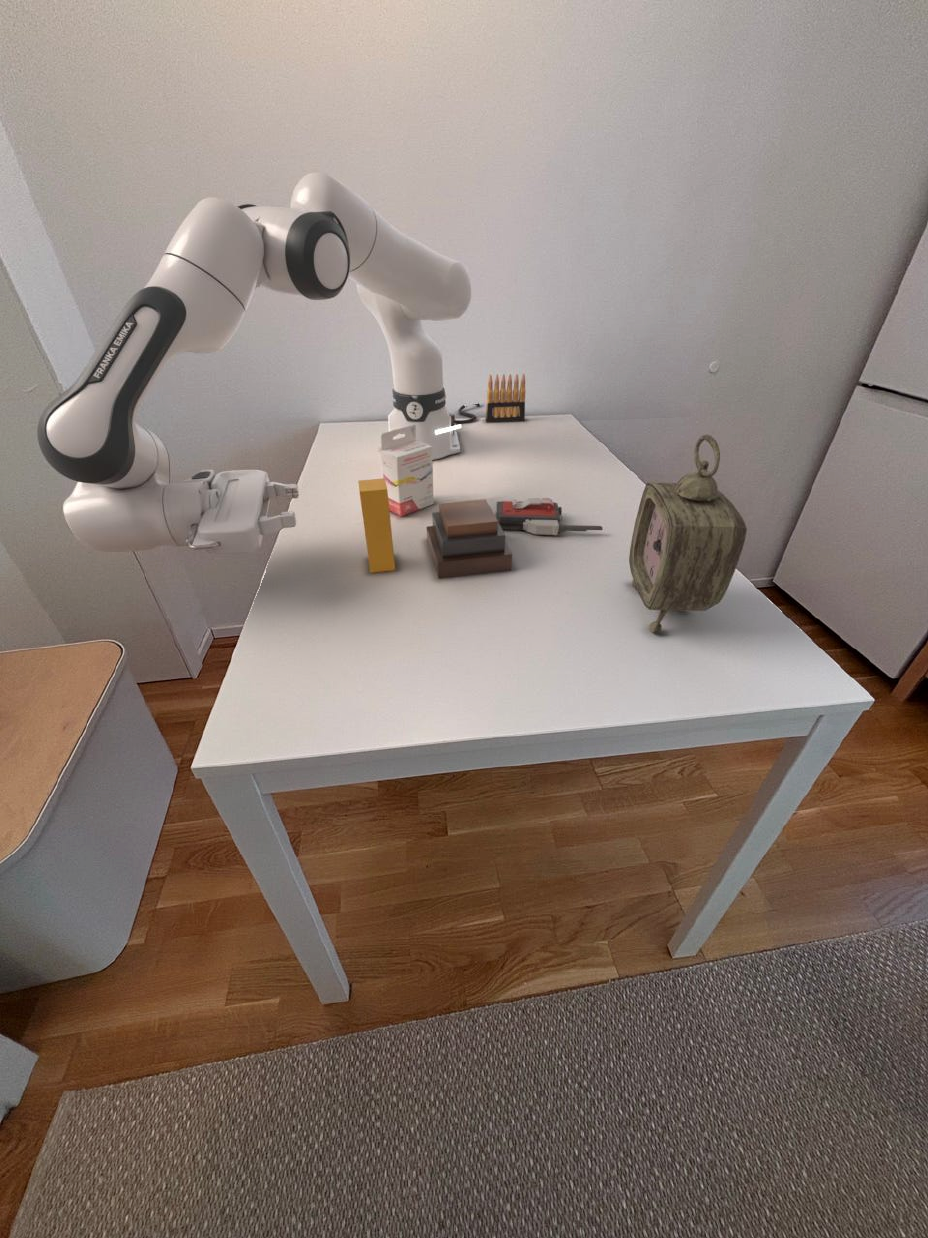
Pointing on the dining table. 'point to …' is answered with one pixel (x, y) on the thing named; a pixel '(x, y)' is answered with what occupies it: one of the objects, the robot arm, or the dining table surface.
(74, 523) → the robot arm
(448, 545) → the stacked square slabs
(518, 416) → the ammunition clip
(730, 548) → the tabletop clock
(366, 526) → the bar
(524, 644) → the dining table surface
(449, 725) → the dining table surface
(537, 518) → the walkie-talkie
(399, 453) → the ink cartridge box
